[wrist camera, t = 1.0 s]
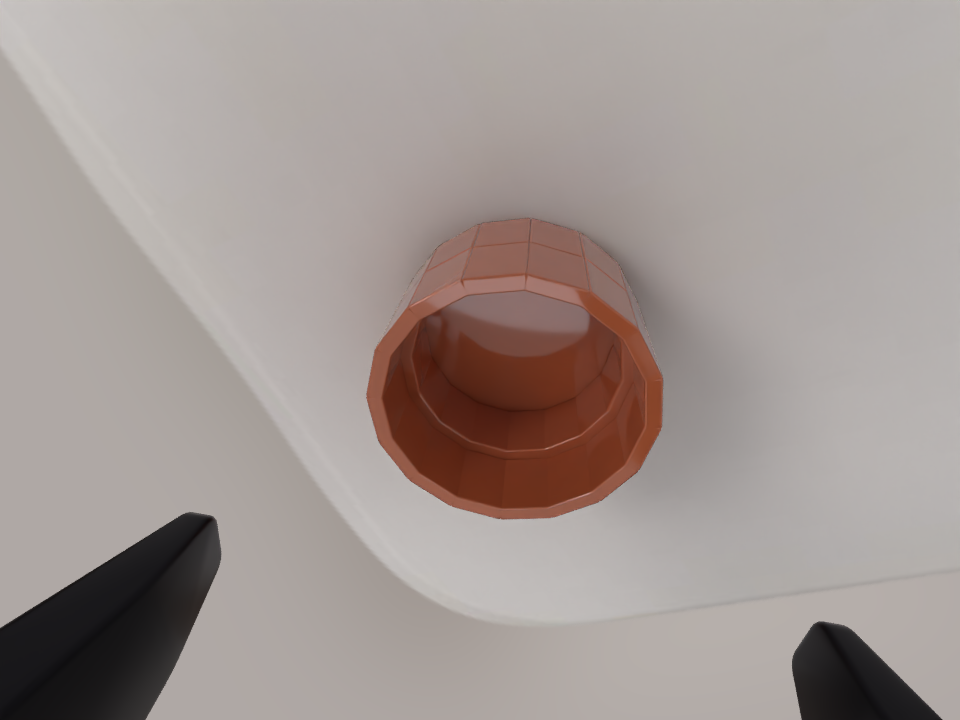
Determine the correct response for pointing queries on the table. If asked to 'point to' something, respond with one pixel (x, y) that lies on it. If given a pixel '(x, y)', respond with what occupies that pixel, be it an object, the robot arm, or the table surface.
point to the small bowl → (517, 374)
